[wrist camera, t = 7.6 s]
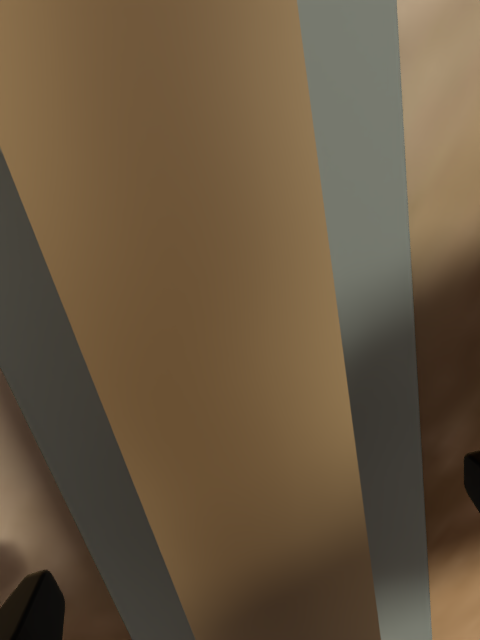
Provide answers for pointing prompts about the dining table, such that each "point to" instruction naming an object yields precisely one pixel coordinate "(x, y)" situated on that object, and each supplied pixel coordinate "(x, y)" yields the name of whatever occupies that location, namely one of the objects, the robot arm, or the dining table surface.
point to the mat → (355, 326)
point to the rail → (200, 292)
